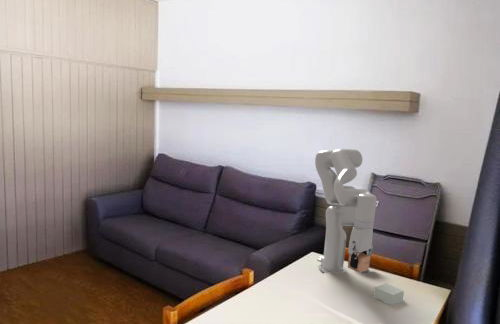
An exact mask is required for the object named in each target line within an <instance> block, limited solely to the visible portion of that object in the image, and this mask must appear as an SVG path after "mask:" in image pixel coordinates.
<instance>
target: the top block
mask: <svg viewBox="0 0 500 324" xmlns="http://www.w3.org/2000/svg"><path fill="white" fill-rule="evenodd" d="M354 254H355V255H356V252H354ZM357 259H358V266H357V269H355V268H353V267H351V266H350V261H351V257H350V254H349V253H348V261H347V268H348V269H350V270H353V271H355V272H357V273H360V274H361V272H364V271H366V270H368V269H369V268H370V263H371V258H370V256H369V255H367V254H364V253H362V252H360V253H359V255H358V258H357ZM369 262H370V263H369ZM368 271H369V270H368Z"/></svg>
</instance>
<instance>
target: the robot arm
mask: <svg viewBox="0 0 500 324" xmlns="http://www.w3.org/2000/svg"><path fill="white" fill-rule="evenodd" d="M314 159H315V162H314V163H315V170H316V172H317V174H318V177H319V178H320V180H321V186H322V190H323V194H324V198H325V201H326V203H327V204H328V205H330V206H328V207H327V208H326V210H325V236H324V237H325V239H324V248H323V249H324V250H323V256H321V255H320V256H318V258H317V259H316V260H317V262H319V263H320V264H319V267H318V268H319V271H320V272H322V273H324V274H327V273H331V274H343V273H345V272H347V269H346V267H345V266H344V265H345V264H344V263H345V254H346V253H345V252H346V245H347V243H346V242H347V233H346V231H345V230H344V228H343V227H345V226H346V227H352V230H351V233H350V236H349V237H350V238H349V242H348V251H347V253H348V255H349V254H350V257H351V261H350V266H351V267H353V268H355V269H357V266H358V259H357V258H358V255H359V253H360V252H362V253H364V254H367V255H369V252H370V249H371V248H372V247H373V238H374V237H373V236H374V235H373V234H374V233H373V231H374V225H375V223H374V222H375V217H376V209H377V201H378V200H377V198H378V197H377V196H376V195H374V194H372V193H371V192H370V191H369V190H368V189H364V188H356V187H354V186H353V185H346V184H347V183H350V182H352V181H353V180H354V179H355V178H356V177H357V176H358V175H357V174H358V171H357V169H356V168H359V167H361V165H362V164H363V156H362V153H361V152H360V151H359V150H358V149H353V148H352V149H351V148H349V149H348V148H336V149H334V150H333V149H332V150H331V149H329V150H328V149H325V150H320V151H317V153H316V155H315V158H314ZM332 168H333V169H334V170H335V171H334V170H333V169H332ZM355 249H356V251H355ZM354 252H356V255H355V254H354Z"/></svg>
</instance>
